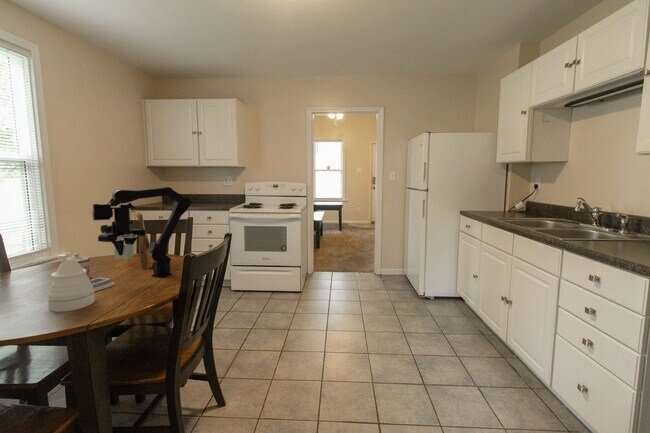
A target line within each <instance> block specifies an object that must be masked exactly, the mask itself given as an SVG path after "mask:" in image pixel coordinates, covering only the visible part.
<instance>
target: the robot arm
mask: <svg viewBox="0 0 650 433" xmlns="http://www.w3.org/2000/svg"><path fill="white" fill-rule="evenodd" d="M111 197H112V198H111V199H110V200H109V201H108V202H107V203H93V204H92V211H91V214H92V220H93V221H94V222H95V221H109V220H110V219H111V218H114V219H113V220H114V221H112V222H111V225H108V224H103V225H100V232H101V233H100V234H99V235H98V236H97V241H98V242H103V243H111V244H113V246H115V247H116V249H117V251H118V253H119V255H122V253H123V246H124V244H133V245H135V243H136V241H137V239H138V238H139V237H140V236H144V235H146V234H147V232H145V231H146V229H145V230H144V229H141V228H132V229H131V224H133V220H131V213H130V209H136V206H135V205H133V204H132V203H131V202H134V201H137V200H140V199H149V198H150V199H151V198H157V197H167V199H169V200H170V201H172V202H173V204H172V208H171V214H170V215H169V218H168V219H167V221H166V224H165V226H164V227H163V229H162V231H161V233H160V235H159V237H158V239H157V240H156V241H155V242H154V241H151V242H150V248H149V249H148V250H149V252H148V254H149V256H150V257H151V258H152V259H153V262H154V263H153V274H151V276H152V277H157V278H164V277H168V276H170V274H171V275H173V274H172V273H173V272H171V260H172V259H171V257H169V256H168V255H167V253H168V252H167V251H168V245H169V242H170V240H171V237H172V235H173V234H174V231H175V230H176V227H177V225H178V223H179V222H180V219H181V217H182V216H183V215H184V214H185V213H186V212H187V210H188V209H189V208H190V206H191V204H192V202H191V199H190V198H189V197H188V196H184V195H182V194H181V193H178V192H177V191H176V190H174V189H173V188H172V187H169V186H164V187H156V188H148V189H140V190H138V189H137V190H134V189H132V190H131V189H117V190H115V191H113V193H112V195H111ZM137 235H138V236H139V237H137Z"/></svg>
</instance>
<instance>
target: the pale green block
mask: <svg viewBox="0 0 650 433" xmlns="http://www.w3.org/2000/svg"><path fill="white" fill-rule="evenodd" d="M113 246H114V245H113ZM134 256H135V255H134V244H125V243H124V246H123V253H122V255H119V253H118V251H117V249H116V247H115V246H114V259H117V260H118V259H120V260H130V259H134V258H135V257H134Z"/></svg>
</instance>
